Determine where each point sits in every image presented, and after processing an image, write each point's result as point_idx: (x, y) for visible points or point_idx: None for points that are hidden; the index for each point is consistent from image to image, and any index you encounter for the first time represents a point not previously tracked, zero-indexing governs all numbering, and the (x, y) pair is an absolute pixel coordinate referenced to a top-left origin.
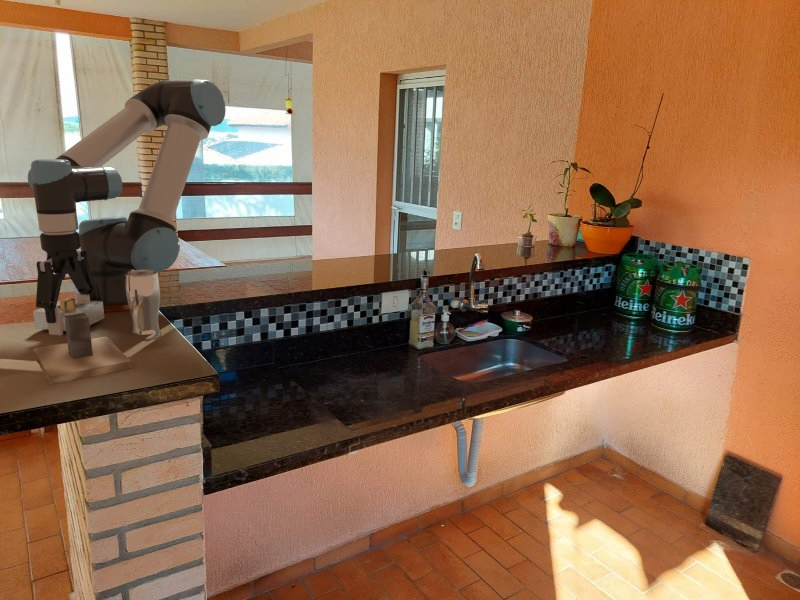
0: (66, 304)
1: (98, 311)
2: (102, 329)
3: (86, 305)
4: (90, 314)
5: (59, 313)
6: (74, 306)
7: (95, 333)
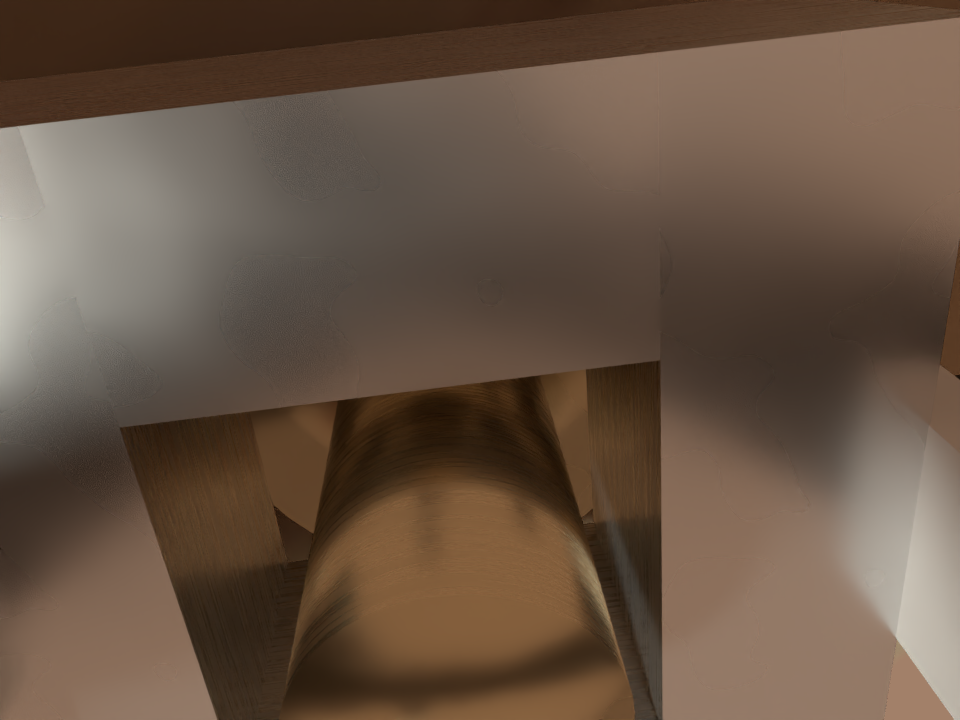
0: (599, 596)
1: (40, 94)
2: (105, 64)
3: (216, 313)
4: (358, 64)
5: (953, 419)
6: (417, 489)
7: (310, 30)
